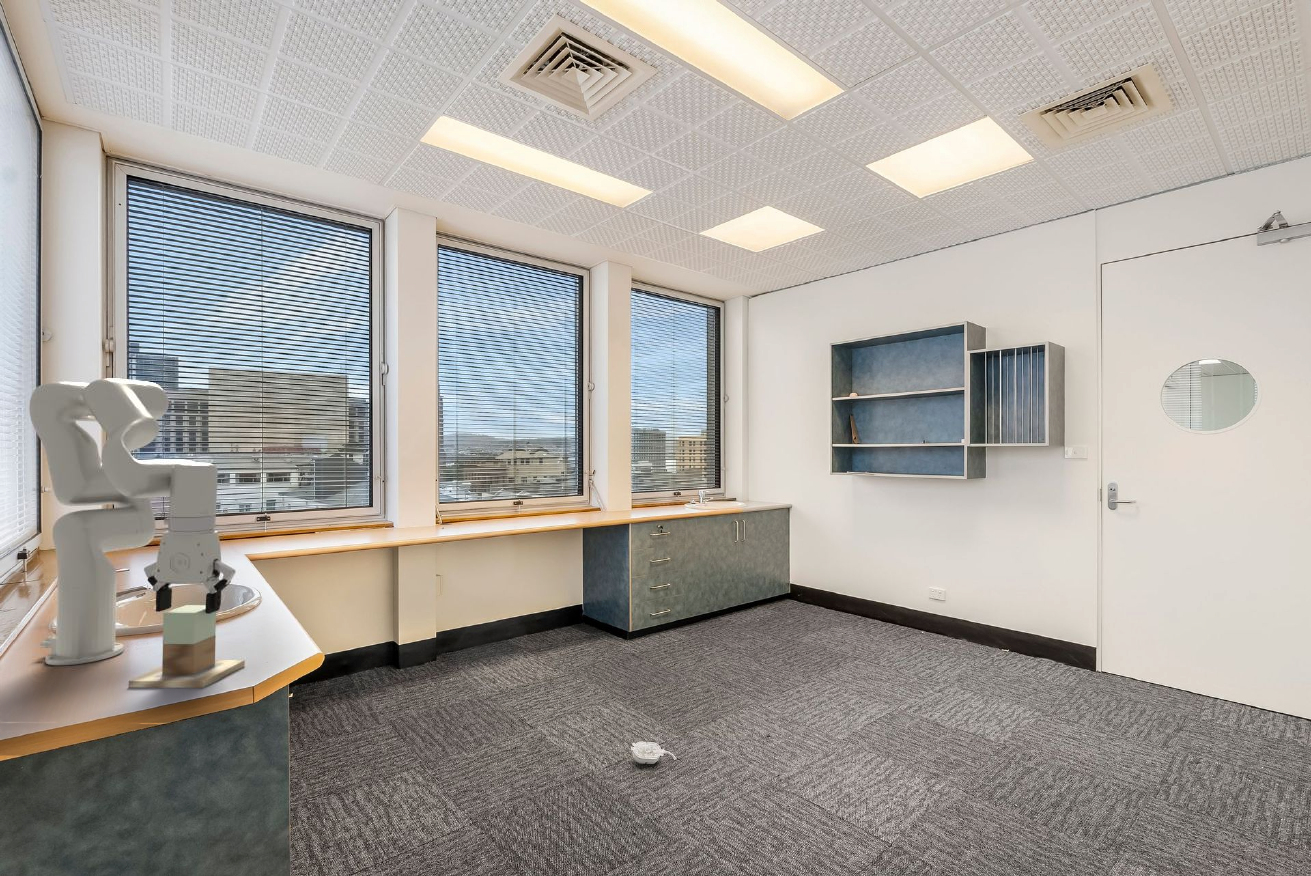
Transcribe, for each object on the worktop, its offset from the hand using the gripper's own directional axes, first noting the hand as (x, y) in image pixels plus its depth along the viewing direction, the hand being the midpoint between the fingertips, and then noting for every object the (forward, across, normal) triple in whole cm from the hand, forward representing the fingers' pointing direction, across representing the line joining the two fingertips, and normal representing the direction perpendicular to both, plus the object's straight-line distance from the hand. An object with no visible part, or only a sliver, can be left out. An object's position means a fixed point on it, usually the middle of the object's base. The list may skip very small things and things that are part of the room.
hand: (188, 610), depth 125 cm
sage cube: (+6, +1, 0) cm, 6 cm away
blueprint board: (+13, +1, 0) cm, 13 cm away
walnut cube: (+12, +1, 0) cm, 12 cm away
